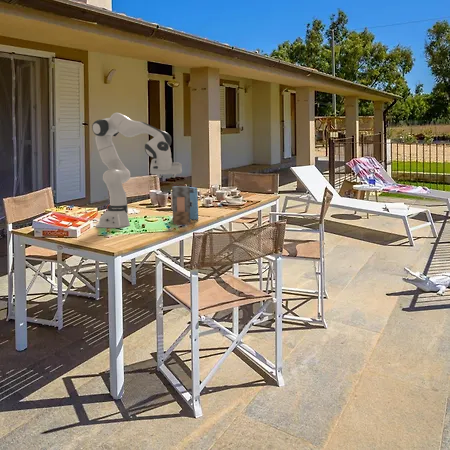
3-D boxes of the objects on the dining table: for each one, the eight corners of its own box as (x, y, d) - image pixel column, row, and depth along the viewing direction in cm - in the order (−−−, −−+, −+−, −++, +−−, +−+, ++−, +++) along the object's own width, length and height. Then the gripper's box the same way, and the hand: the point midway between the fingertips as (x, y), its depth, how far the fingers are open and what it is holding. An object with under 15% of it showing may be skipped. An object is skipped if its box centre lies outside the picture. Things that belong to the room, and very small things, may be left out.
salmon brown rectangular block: (177, 215, 345) (176, 197, 342) (177, 214, 349) (177, 197, 346) (184, 215, 345) (184, 197, 342) (184, 214, 349) (184, 197, 346)
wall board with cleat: (172, 224, 343) (171, 188, 338) (173, 222, 352) (172, 186, 347) (189, 224, 343) (189, 188, 338) (190, 222, 352) (189, 186, 347)
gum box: (198, 218, 364) (197, 187, 360) (194, 220, 360) (193, 188, 356) (177, 216, 375) (176, 185, 371) (173, 217, 371) (172, 186, 367)
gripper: (181, 158, 319) (182, 173, 330) (149, 159, 318) (151, 173, 330) (181, 166, 316) (182, 180, 327) (148, 167, 315) (151, 181, 326)
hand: (166, 177), depth 328 cm, fingers open, 8 cm apart
